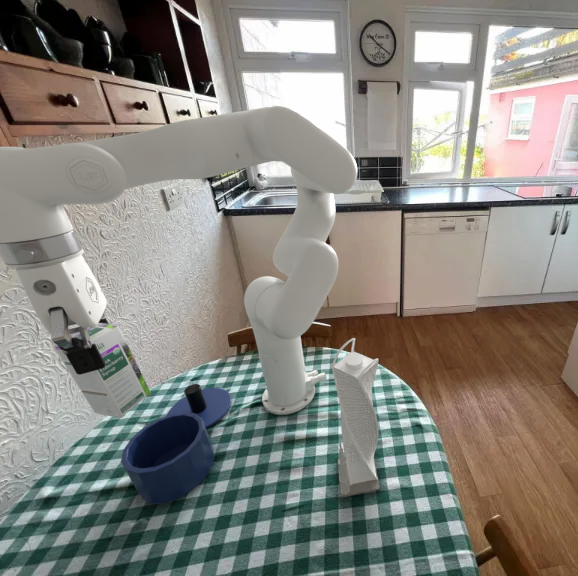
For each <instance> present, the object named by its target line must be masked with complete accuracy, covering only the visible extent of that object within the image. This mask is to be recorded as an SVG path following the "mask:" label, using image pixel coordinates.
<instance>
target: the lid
mask: <svg viewBox="0 0 578 576" xmlns="http://www.w3.org/2000/svg"><path fill="white" fill-rule="evenodd" d="M183 393H184V397H182V398H181V399H179V400H178V401H177V402H175V403H174V404H173V405H172V407H171V408H170V409H169V410H168V412H167V414H166V416H168V415H171V414H175V413H183V412H189V413H193V414H197V415H198V416H199V417H200V418H201V419H202V420H203V422H204V424H205V427H206V429H208V428H210V427H212V426H213V425H215V424H217V423H218V422H220V421H221V419H223V417H225V416H226V415H227V413H228V411H229V410H230V408H231V407H232V406H231V405H232V397H231V394H230V392H229V391H227V390H226V389H223V388H220V387H207V388H202V387H201V385H200V384H199V383H193V384H190V385H188V386H187V387H185V388H184V390H183Z"/></svg>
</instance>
